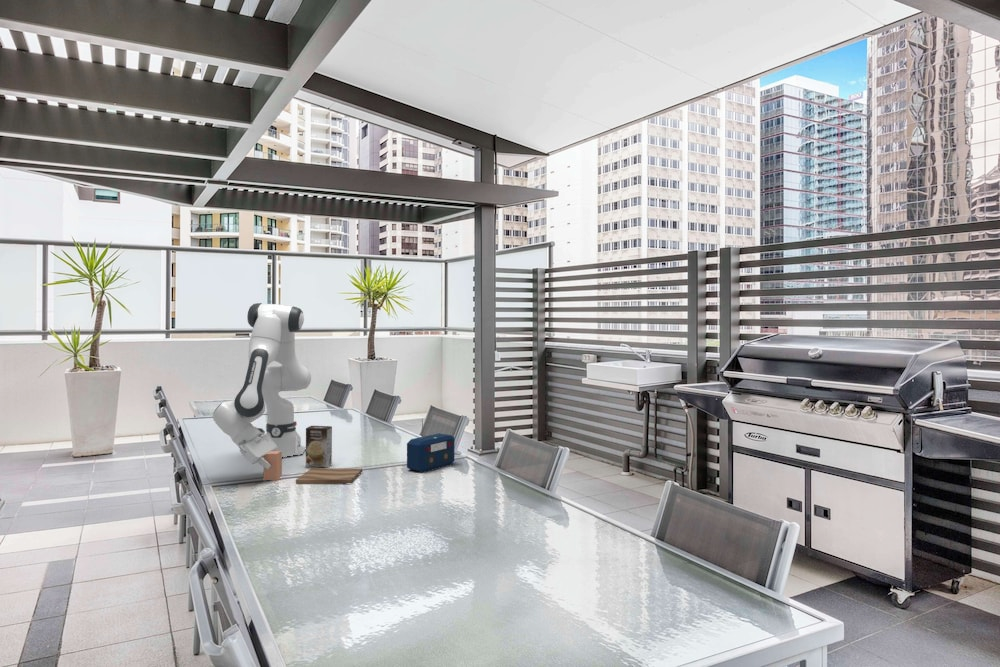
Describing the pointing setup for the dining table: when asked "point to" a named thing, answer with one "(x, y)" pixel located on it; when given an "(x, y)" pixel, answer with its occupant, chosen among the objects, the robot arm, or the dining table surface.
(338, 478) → the walnut board
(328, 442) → the coffee box
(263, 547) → the dining table surface
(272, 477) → the terracotta block
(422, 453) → the radio
